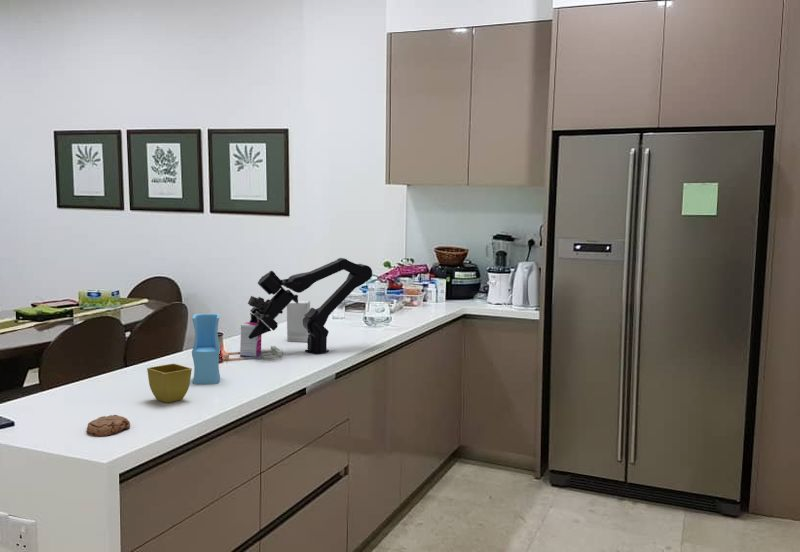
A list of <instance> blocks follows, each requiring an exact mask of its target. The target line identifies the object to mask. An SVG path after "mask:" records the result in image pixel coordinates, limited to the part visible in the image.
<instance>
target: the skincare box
mask: <svg viewBox="0 0 800 552" xmlns="http://www.w3.org/2000/svg"><path fill="white" fill-rule="evenodd" d="M310 309H311V300H298V303H296V302H294V301H293V300H292V301H291V302H290V303H289V304H288V305H287V306H286V329H287V330H286V334H287V336H286V337H287V339H286V342H289V343H290V342H293V343H308V334H309V333H308V331H307V329H306V328H304V326H303V318H304V317H305V316H304V315H305V314H307V313H308V312H309V310H310Z"/></svg>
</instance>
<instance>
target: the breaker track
mask: <svg viewBox="0 0 800 552" xmlns="http://www.w3.org/2000/svg"><path fill="white" fill-rule="evenodd" d="M226 351H227V350H225V349H224V357H222V358H221V359H222V360H223V362H228V361H229V362H231V361H245V360H247V361H248V360H261V359H263V360H264V359H274V358H275V359H277V358H278V359H279V358H283V351H282V350H280V349H279V348H278V347H277V346H276V345H270V349H264V350H263V349H261V354H263V353H264V354H265V353H271V354H273V355H262V356H261V355H259V356H257V357H231V358H230V356H231V355H233V356H234V355H240V351H234V352H233V351H231V352H229V351H227V352H226Z"/></svg>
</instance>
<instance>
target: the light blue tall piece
mask: <svg viewBox="0 0 800 552" xmlns="http://www.w3.org/2000/svg"><path fill="white" fill-rule="evenodd" d="M220 316H221V314H220V313H195V314H193V316H192V318H191V319H192V325H193V329H194V341H193V345H192V346H193V347H192V350H191V356H192V361H193V368H194V369H193V371H194V372H193V373H194V374H193V378H192V384H194V385H210V384H211V385H216V384H219V383H220V381H221V375H220V367H219V363H220V362H219V361H220V355H219V354H220V349H221V344H220V340H219V333H218V331H219V330H218V329H219V321H220V318H221V317H220Z"/></svg>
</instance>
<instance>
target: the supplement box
mask: <svg viewBox="0 0 800 552" xmlns="http://www.w3.org/2000/svg"><path fill="white" fill-rule="evenodd" d="M256 325H257V323H251V322H250V321H246V322H244V323H242V324H240V346H239V347H240V349H239V350H240V351H239V352H240V354H239V358H244V357H259V356H261V355H262V353H261V351H262V334H261V335H259V336H257V337H254V338H252V339H250V338H249V335H250V334H251V332H252V331H253V329H254V328H255V327H256Z"/></svg>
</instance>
